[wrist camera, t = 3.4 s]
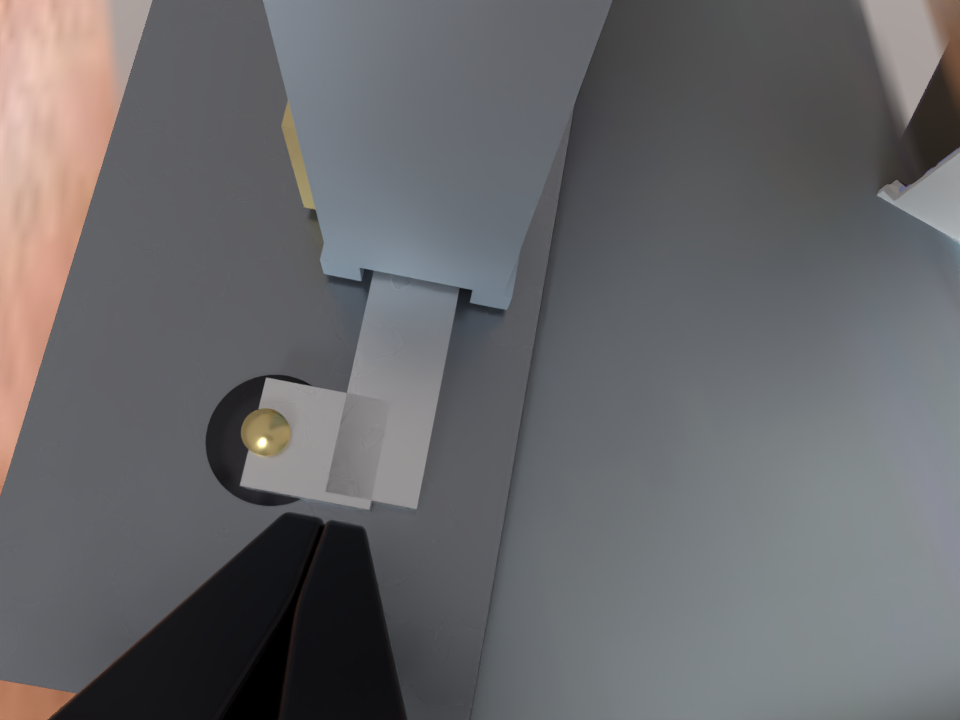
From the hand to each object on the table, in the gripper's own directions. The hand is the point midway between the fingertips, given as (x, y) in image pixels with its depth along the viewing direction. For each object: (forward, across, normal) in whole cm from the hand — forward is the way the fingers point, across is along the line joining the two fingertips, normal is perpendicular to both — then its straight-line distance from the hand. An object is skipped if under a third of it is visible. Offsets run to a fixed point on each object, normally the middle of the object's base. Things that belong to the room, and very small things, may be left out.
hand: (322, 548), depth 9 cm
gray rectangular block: (+13, +1, +2) cm, 13 cm away
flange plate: (+13, +3, +3) cm, 14 cm away
